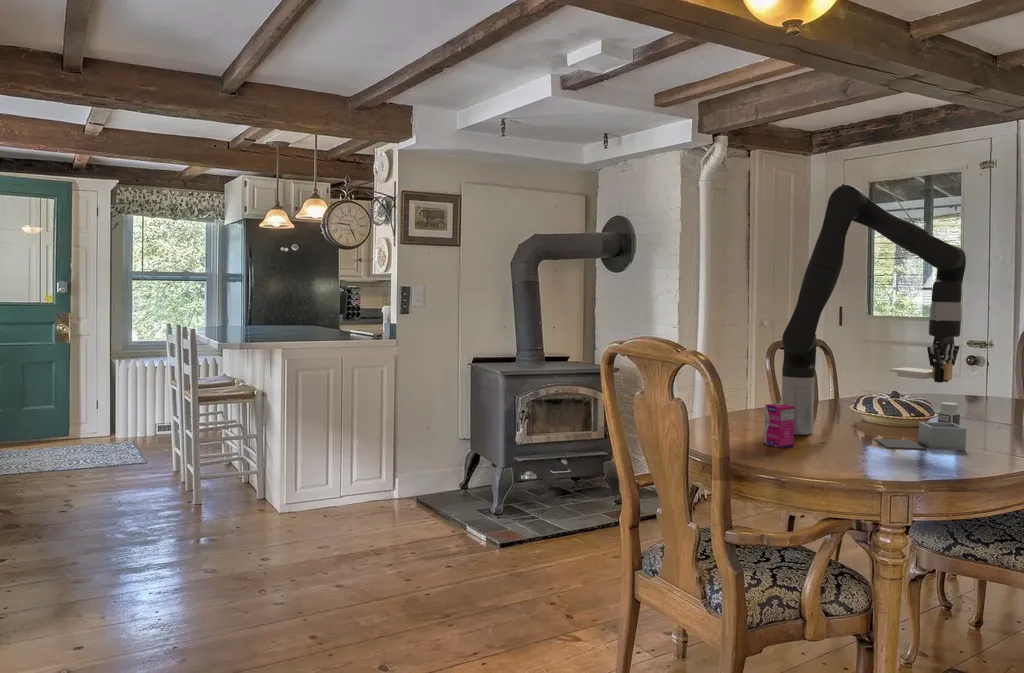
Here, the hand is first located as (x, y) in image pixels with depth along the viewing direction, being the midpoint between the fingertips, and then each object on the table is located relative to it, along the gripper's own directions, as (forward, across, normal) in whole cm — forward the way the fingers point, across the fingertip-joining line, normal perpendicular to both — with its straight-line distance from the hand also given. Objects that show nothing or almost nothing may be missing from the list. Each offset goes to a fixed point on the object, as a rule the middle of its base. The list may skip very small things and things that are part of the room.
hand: (941, 381), depth 210 cm
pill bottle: (+19, -22, -7) cm, 30 cm away
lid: (0, 0, -5) cm, 5 cm away
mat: (+19, +3, -9) cm, 21 cm away
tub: (+19, -4, -1) cm, 19 cm away
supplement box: (+19, +33, -28) cm, 47 cm away
